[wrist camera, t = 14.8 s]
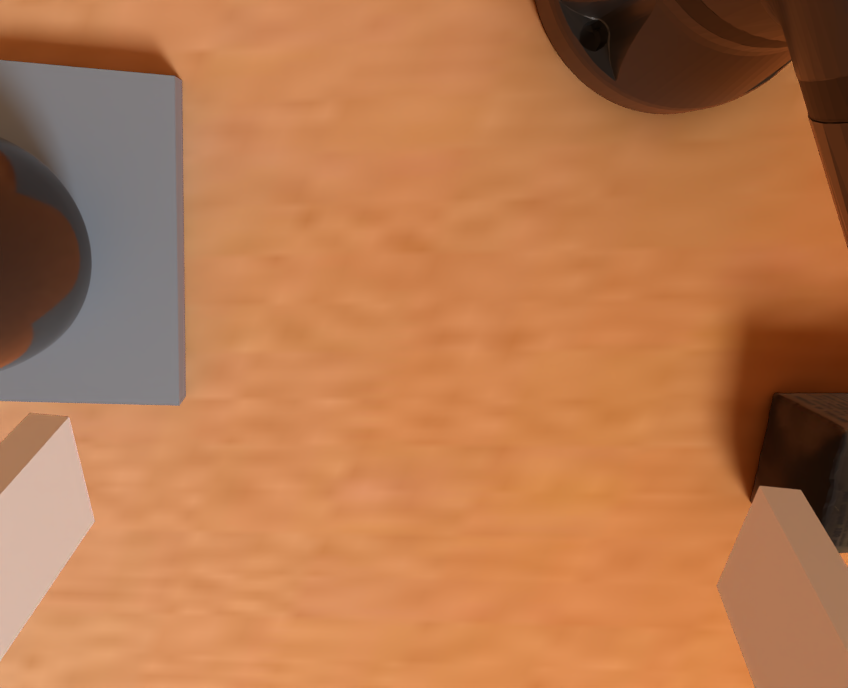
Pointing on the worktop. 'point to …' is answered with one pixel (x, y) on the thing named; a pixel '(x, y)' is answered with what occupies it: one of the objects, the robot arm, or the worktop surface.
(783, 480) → the beverage carton
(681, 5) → the robot arm
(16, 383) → the slate-blue board
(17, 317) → the dark brown egg shape
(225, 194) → the worktop surface
